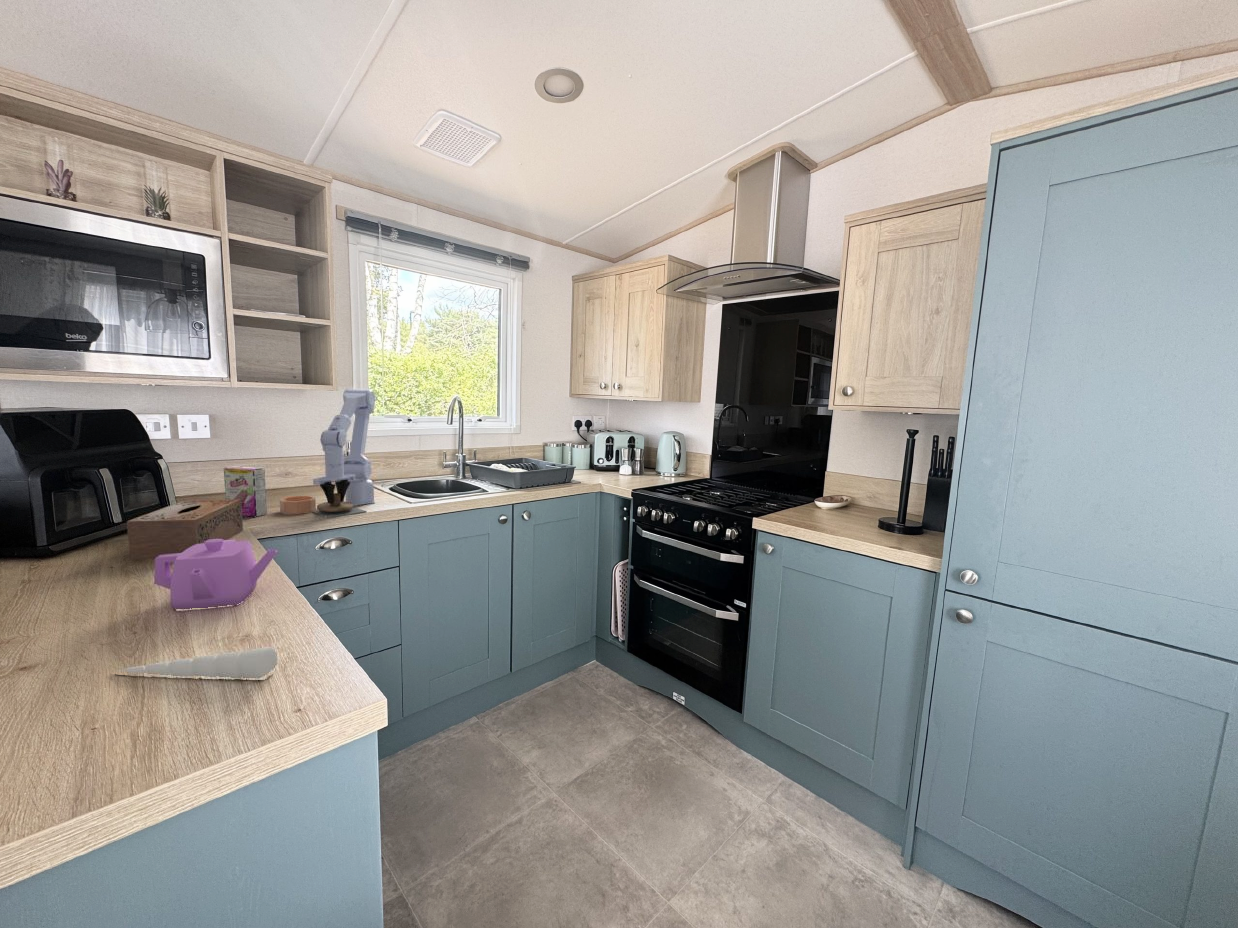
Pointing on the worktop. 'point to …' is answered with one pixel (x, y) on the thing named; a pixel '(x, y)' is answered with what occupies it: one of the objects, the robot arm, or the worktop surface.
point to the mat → (340, 513)
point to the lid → (335, 505)
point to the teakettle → (211, 573)
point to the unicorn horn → (217, 665)
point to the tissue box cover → (183, 527)
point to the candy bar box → (246, 488)
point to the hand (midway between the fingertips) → (335, 502)
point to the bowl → (297, 504)
